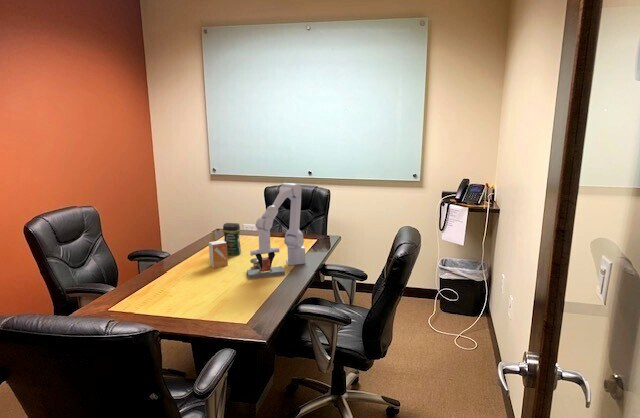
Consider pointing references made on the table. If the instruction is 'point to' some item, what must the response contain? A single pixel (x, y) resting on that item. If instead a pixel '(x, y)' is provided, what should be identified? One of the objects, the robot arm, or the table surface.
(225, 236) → the coffee jar
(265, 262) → the block
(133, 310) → the table surface
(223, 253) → the small box
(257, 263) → the bobbin
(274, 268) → the notched board
